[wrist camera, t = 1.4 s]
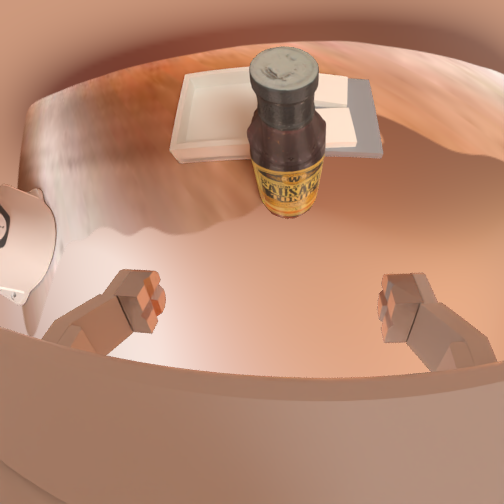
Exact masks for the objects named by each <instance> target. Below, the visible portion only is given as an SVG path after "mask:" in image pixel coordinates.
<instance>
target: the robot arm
mask: <svg viewBox="0 0 504 504" xmlns="http://www.w3.org/2000/svg"><path fill="white" fill-rule="evenodd" d="M55 237H56V229H55V221H54V217H53V214H52V212H51V210H50V209H49V207H48V206H47V205H46V204H45V202H44V199H43V194H42V191H41V190H40V189H37V188H35V189H32V190H30V191H28V192H24V191H22V190H19V189H17V188H14V187H12V186H9V185H7V184H3V185H2V186H0V294H2V295H3V296H5V297H6V298H8V299H9V300H11V301H13V302H14V303H16V304H19V305H23V304H24V303H25V302H26V300H27V298H28V296H29V294H30V292H31V290H32V289H33V288H34V287H35V286H37V285H38V283H39V282H40V281H41V280H42V278H43V277H44V275H45V274H46V272H47V270H48V267H49V265H50V262H51V259H52V256H53V252H54V247H55ZM159 282H160V277H159V274H158V272H156V271H147V270H129V269H123V270H120V271H119V273H118V274H117V275H116V277H115V278H114V279H113V281H112V282H111V283H110V285H109V286H108V287H107V289H106V290H105V292H104V293H103V294H102V295H101V294H99V295H97V296H96V297H94V298H92V299H90V300H89V301H87V302H85V303H84V304H82V305H80V306H78V307H77V308H75V309H73V310H72V311H70V312H68V313H67V314H65V315H63V316H62V317H60V318H58V319H57V320H55V321H54V322H53V324H52V325H51V326H50V328H49V329H48V331H47V332H46V333H45V335H44V336H43V338H42V339H38V338H34V337H31V336H28V335H24V334H21V333H18V332H15V331H12V330H9V329H5V328H2V327H0V504H504V361H500V362H497V359H496V357H495V355H494V352H493V350H492V347H491V345H490V343H489V340H488V338H487V337H486V336H485V335H484V334H482V333H481V332H480V331H478V330H477V329H476V328H475V327H473V326H472V325H471V324H469V323H468V322H467V321H465V320H464V319H463V318H462V317H460V316H459V315H458V314H456V313H455V312H454V311H452V310H451V309H450V308H448V307H447V306H446V305H444V304H443V303H438V301H437V299H436V297H435V295H434V292H433V290H432V288H431V286H430V283H429V282H428V279H427V277H426V275H425V274H424V273H410V274H384V275H383V278H382V288H383V290H382V291H381V292H380V293H379V298H378V316H379V320H381V321H382V322H383V323H382V327H381V331H382V336H383V341H384V343H398V342H399V343H400V342H407V343H406V344H407V345H408V346H409V347H410V348H411V349H412V351H413V352H414V353H415V354H416V355H417V356H418V357H419V358H420V360H421V361H422V362H423V363H424V364H425V365H426V367H427V368H428V369H429V370H430V371H431V372H427V373H416V374H405V375H392V376H376V377H353V378H352V377H351V378H300V377H272V376H254V375H240V374H228V373H217V372H208V371H199V370H190V369H182V368H175V367H168V366H161V365H155V364H149V363H142V362H137V361H131V360H126V359H120V358H116V357H111V356H106V355H107V354H109V353H110V352H111V351H112V350H113V349H114V348H116V347H117V346H118V345H119V344H120V343H121V342H123V341H124V340H125V339H126V338H127V337H129V336H130V335H131V334H132V333H133V332H141V333H153V330H154V329H155V326H156V324H157V322H158V319H157V316H158V315H160V314H161V313H162V312H163V310H164V308H165V303H166V297H165V292H164V289H163V288H162V287H161V286H160V285H159Z"/></svg>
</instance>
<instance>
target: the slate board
mask: <svg viewBox="0 0 504 504" xmlns="http://www.w3.org/2000/svg"><path fill="white" fill-rule="evenodd" d="M322 108H326V107H317V106H315V109H322ZM347 108H349V110H350V114H351V118H352V122H353V126H354V130H355V135H356V139H357V144H356V147H339V148H325V155H324V156H338V157H367V158H381V157H382V155H383V150H382V143H381V137H380V131H379V126H378V121H377V115H376V110H375V105H374V101H373V96H372V92H371V87H370V83H369V80H364V79H349V78H348V91H347Z"/></svg>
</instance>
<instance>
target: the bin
mask: <svg viewBox="0 0 504 504" xmlns="http://www.w3.org/2000/svg"><path fill="white" fill-rule="evenodd" d="M257 104H258V103H257V97H256V94H255V92H254V91H253V89H252V87H251V83H250V74H249V67H240V68H229V69H220V70H212V71H205V72H198V73H191V74H185V77H184V81H183V86H182V90H181V94H180V99H179V103H178V108H177V113H176V118H175V123H174V128H173V133H172V138H171V144H170V149H169V151H170V152H171V153H172V154H173V156H174V157H175V158H176V160H177V161H178V162H179V163H192V162H206V161H222V160H242V159H251V156H250V144H249V141H248V138H247V129H248V127H249V126H250V124H251V121H252V117H253V115H254V111H255V110H256V109H257Z"/></svg>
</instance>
